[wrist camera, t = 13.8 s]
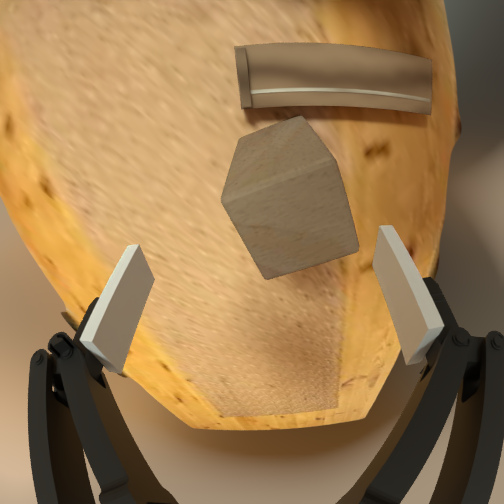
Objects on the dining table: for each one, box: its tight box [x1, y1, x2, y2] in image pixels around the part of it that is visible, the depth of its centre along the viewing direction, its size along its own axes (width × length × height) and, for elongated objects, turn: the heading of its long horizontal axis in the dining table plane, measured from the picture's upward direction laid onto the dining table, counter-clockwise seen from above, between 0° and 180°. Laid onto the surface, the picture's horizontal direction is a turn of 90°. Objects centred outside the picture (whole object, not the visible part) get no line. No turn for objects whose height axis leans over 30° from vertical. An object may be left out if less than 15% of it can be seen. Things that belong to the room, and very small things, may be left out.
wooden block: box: [221, 116, 359, 280], centre depth 31 cm, size 10×10×20 cm
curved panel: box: [234, 43, 432, 115], centre depth 30 cm, size 9×28×4 cm, turn 96°
